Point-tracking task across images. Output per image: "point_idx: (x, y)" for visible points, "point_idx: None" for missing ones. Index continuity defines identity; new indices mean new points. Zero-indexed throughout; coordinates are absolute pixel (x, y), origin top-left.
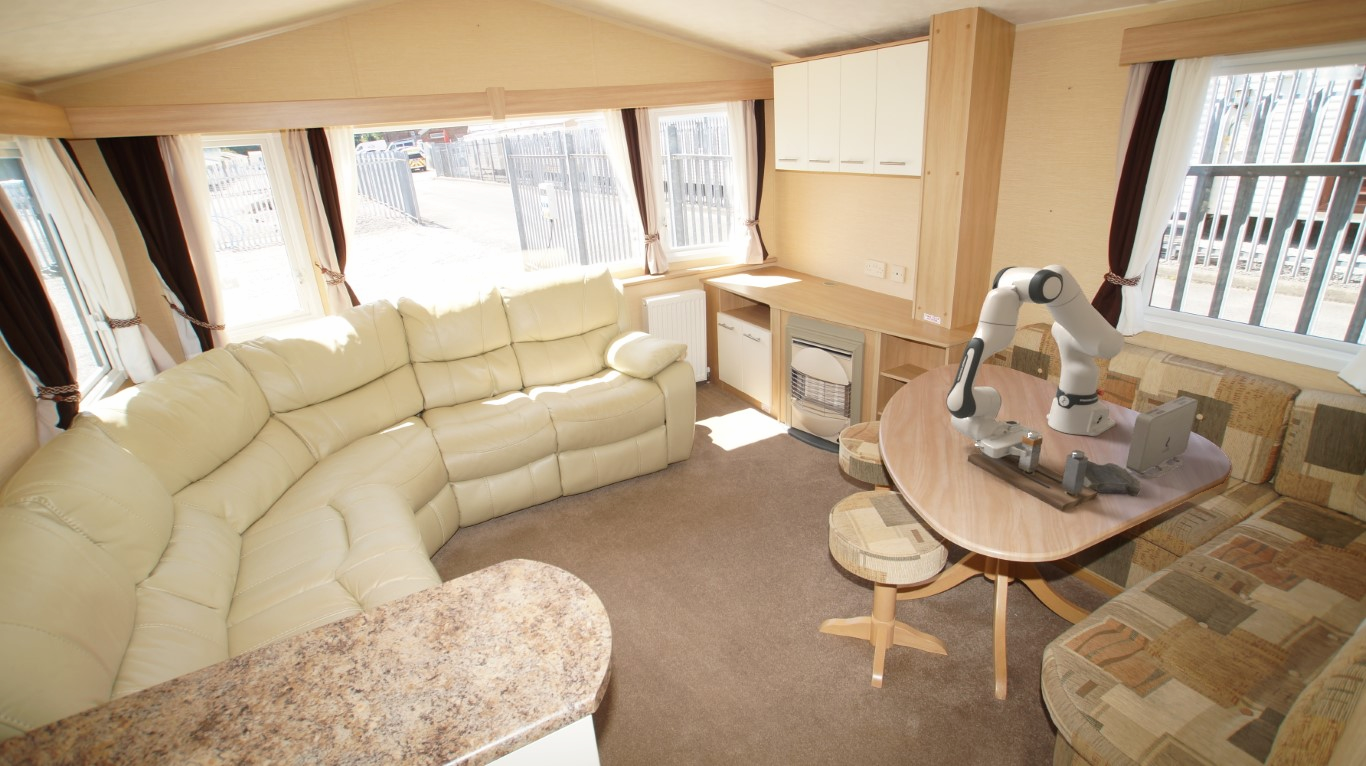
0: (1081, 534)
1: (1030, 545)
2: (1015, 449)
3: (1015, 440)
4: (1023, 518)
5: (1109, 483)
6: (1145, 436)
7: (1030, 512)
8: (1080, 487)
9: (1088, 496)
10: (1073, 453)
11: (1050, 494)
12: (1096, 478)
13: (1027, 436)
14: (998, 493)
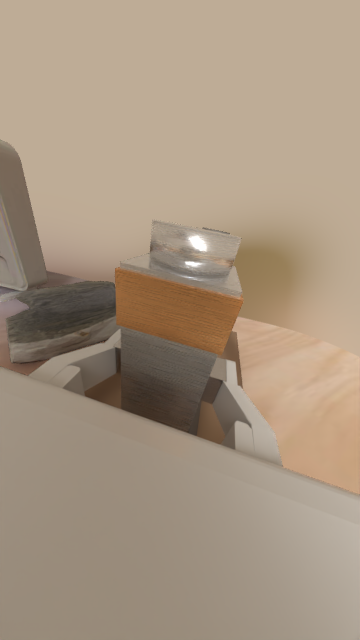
0: (254, 322)
1: (338, 351)
2: (260, 414)
3: (148, 473)
4: (313, 375)
5: None
6: (27, 199)
7: (287, 372)
8: None
9: None
10: (229, 233)
11: (224, 350)
12: (112, 307)
13: (226, 277)
14: (325, 471)
